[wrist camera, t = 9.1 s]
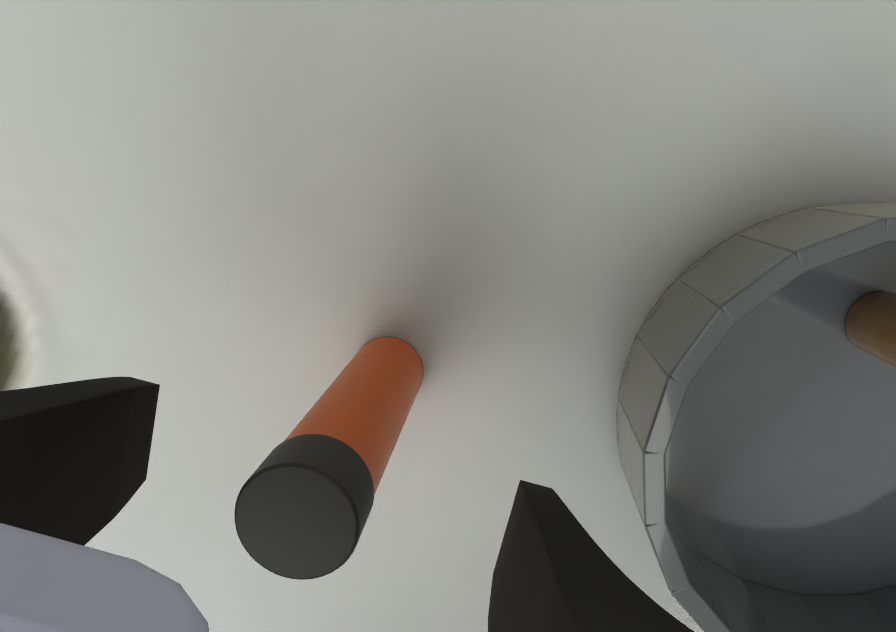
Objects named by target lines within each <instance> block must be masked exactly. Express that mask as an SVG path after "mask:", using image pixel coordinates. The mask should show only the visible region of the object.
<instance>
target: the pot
mask: <svg viewBox="0 0 896 632" xmlns="http://www.w3.org/2000/svg"><path fill="white" fill-rule="evenodd" d="M881 291H884V292H891V293H894V294H896V203H887V202H879V203H865V204H856V203H850V204H838V205H826V206H818V207H811V208H807V209H804V210H799V211H794V212H790V213H787V214H784V215H781V216H778V217H775V218H772V219H769V220H766V221H763V222H761V223H759V224H757V225H754V226H752V227H750V228H748V229H746V230H744V231H742V232H740V233H738V234H736V235H734V236H732V237H730V238H729V239H727V240H726V241H724V242H723V243H721V244H719V245H718V246H716V247H715V248H713V249H712V250H710V251H708V252H707V253H706V254H705V255H704V256H702V257H701V258H700V259H699V260H697V261H696V262H695V263H694V264H693V265H691V266H690V267H689V268H688V269H687V270H685V271H684V272H683V273H682V274H681V276H680V277H679V278H678V279H677V280H676V281H675V282H674V283H673V284H672V285H671V286H670V287H669V288H668V289H667V290H666V291H665V293H664V294H663V295H662V297H661V298H660V299H659V301H658V302H657V303H656V305H655V306H654V308H653V309H652V310H651V312H650V313H649V314H648V316H647V318H646V320H645V322H644V323H643V325H642V327H641V329H640V331H639V332H638V334H637V336H636V338H635V340H634V343H633V345H632V348H631V350H630V353H629V356H628V358H627V361H626V363H625V367H624V371H623V375H622V380H621V384H620V388H619V397H618V407H617V431H618V443H619V448H620V460H621V464H622V467H623V470H624V473H625V475H626V478H627V481H628V483H629V486H630V489H631V492H632V494H633V497H634V500H635V502H636V505H637V508H638V510H639V513H640V516H641V519H642V521H643V524H644V527H645V529H646V532H647V534H648V537H649V540H650V542H651V545H652V547H653V550H654V552H655V555H656V558H657V560H658V563H659V565H660V568H661V570H662V573H663V576H664V578H665V581H666V583H667V586H668V588H669V590H670V591H671V594H672V595H673V596H674V597H675V599H676V600H677V601H678V602H679V603H680V604H681V606H682V607H683V608H684V609H685V610H686V611H687V613H688V614H689V615H690V616H691V617H692V618H693V619H694V621H695V622H696V623H697V624H698V625H699V626H700V628H701V629H702V630H703V631H704V632H896V367H894V366H892V365H890V364H888V363H886V362H884V361H882V360H880V359H879V358H877V357H875V356H873V355H871V354H869V353H867V352H865V351H863V350H861V349H859V348H858V347H856V346H855V345H854V344H853V343H852V342H851V341H850V339H849V338H848V335H847V333H846V327H845V321H846V317H847V314H848V312H849V310H850V308H851V307H852V305H853V304H854V303H855V302H856V301H857V300H859V299H860V298H862V297H863V296H865V295H868V294H870V293H874V292H881Z"/></svg>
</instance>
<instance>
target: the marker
mask: <svg viewBox="0 0 896 632" xmlns="http://www.w3.org/2000/svg"><path fill="white" fill-rule="evenodd" d="M422 378H423V366H422V362H421V359H420V357H419V355H418V354H417V352H416V351H415V350H414V349H413V347H412V346H410V345H409V344H408V343H406V342H405V341H403V340H400V339H397V338H393V337H380V338H376V339H373V340H371V341H369V342H368V343H366V344H365V345H364V346H363V347H362V348H361V349H360V351H359V352H358V353H357V354H356V355H355V357H354V358H353V359H352V360H351V361H350V363H349V364H348V365H347V366H346V367H345V369H344V370H343V371H342V372H341V373H340V375H339V376H338V377H337V378H336V379H335V381H334V382H333V383H332V384H331V385H330V387H329V388H328V389H327V390H326V391H325V393H324V394H323V395H322V396H321V397H320V399H319V400H318V401H317V402H316V403H315V405H314V406H313V407H312V408H311V409H310V411H309V412H308V413H307V414H306V415H305V417H304V418H303V419H302V420H301V422H300V423H299V424H298V425H297V426H296V428H295V429H294V430H293V431H292V432H291V434H290V435H289V436H288V437H287V438H286V440H285V441H284V442H282V443H281V444H279V445H278V446H277V447H276V448H275V449H274V450H273V451H272V452H271V453H270V454H269V456H268V457H267V458H266V459H265V460H264V461H263V463H262V464H261V465H260V466H259V467H258V469H257V470H256V471H255V472H254V473H253V475H252V476H251V477H250V478H249V479H248V480H247V482H246V483H245V484H244V486H243V487H242V489H241V490H240V493H239V495H238V497H237V501H236V505H235V525H236V530H237V533H238V536H239V539H240V541H241V543H242V545H243V546H244V548H245V549H246V551H247V552H248V553H249V555H250V556H251V557H252V558H253V559H254V560H255V561H256V562H257V563H259V564H260V565H261V566H262V567H264V568H266V569H267V570H269V571H271V572H273V573H275V574H277V575H280V576H283V577H287V578H292V579H313V578H318V577H321V576H324V575H327V574H329V573H331V572H333V571H335V570H336V569H338V568H339V567H340V566H342V565H343V564H344V563H345V562H346V561H347V560H348V559H349V557H350V556H351V554H352V553H353V551H354V549H355V547H356V545H357V543H358V540H359V538H360V535H361V533H362V530H363V528H364V526H365V523H366V521H367V518H368V516H369V513H370V511H371V508H372V505H373V500H374V494H375V492H376V489H377V487H378V485H379V482H380V480H381V478H382V475H383V473H384V470H385V468H386V466H387V463H388V461H389V459H390V456H391V454H392V451H393V449H394V447H395V444H396V442H397V439H398V437H399V435H400V432H401V430H402V428H403V425H404V423H405V420H406V418H407V416H408V413H409V411H410V409H411V406H412V404H413V401H414V399H415V397H416V394H417V392H418V389H419V387H420V385H421V382H422Z"/></svg>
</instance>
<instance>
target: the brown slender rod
mask: <svg viewBox="0 0 896 632" xmlns="http://www.w3.org/2000/svg"><path fill="white" fill-rule="evenodd" d="M845 327H846V333H847V335H848V338H849V339H850V341H851V342H852V343H853V344H854V345H855V346H856V347H858V348H859V349H861V350H863V351H865V352H867V353H869V354H871V355H873V356H875V357H877V358H879V359H880V360H882V361H884V362H886V363H888V364H890V365H892V366H894V367H896V294H894V293H891V292H884V291H881V292H874V293H870V294H868V295H865V296H863V297H862V298H860V299H859V300H857V301H856V302H855V303H854V304H853V305H852V307H851V308H850V310H849V312H848V314H847V317H846V321H845Z"/></svg>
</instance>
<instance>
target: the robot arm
mask: <svg viewBox="0 0 896 632" xmlns="http://www.w3.org/2000/svg"><path fill="white" fill-rule="evenodd" d="M159 387H160V385H158V384H154V383H151V382H147V381H143V380H139V379H135V378H132V377H109V378H99V379H90V380H83V381H75V382H68V383H61V384H54V385H47V386H40V387H33V388H25V389H17V390H8V391H0V632H209V627H208V622H207V621H206V619H205V618H204V617H203V615H202V614H201V612H200V611H199V610H198V608H197V607H196V606H195V604H194V603H193V601H192V600H191V599H190V597H189V596H188V595H187V593H186V592H185V590H184V589H183V588H182V586H181V585H180V584H179V583H177V582H175V581H174V580H172V579H170V578H168V577H166V576H164V575H162V574H161V573H159V572H157V571H155V570H153V569H151V568H149V567H148V566H146V565H144V564H142V563H140V562H138V561H136V560H133V559H130V558H126V557H122V556H119V555H115V554H111V553H108V552H104V551H101V550H97V549H93V548H90V547H86V546H84V545H85V544H86V543H87V542H88V541H90V540H91V539H92V538H93V537H94V536H95V535H96V534H97V533H98V532H99V531H100V530H102V529H103V528H104V527H105V526H106V525H107V524H108V523H109V522H110V521H111V520H112V519H113V518H114V517H115V516H116V515H117V514H118V513H119V512H120V510H121V509H122V508H123V507H124V506H125V505H126V503H127V502H128V501H129V500H130V499H131V497H132V496H133V495H134V494H135V492H136V491H137V490H138V489H139V487H140V486H141V485H142V484H143V482H144V481H145V480H146V475H147V469H148V462H149V455H150V448H151V441H152V434H153V428H154V421H155V414H156V407H157V400H158V393H159ZM488 632H694V631H692V630H691V629H689V628H688V627H687V626H685V625H684V624H683V623H681V622H680V621H678V620H677V619H676V618H674V617H673V616H672V615H670V614H669V613H668V612H667V611H665V610H664V609H663V608H662V607H660V606H659V605H658V604H657V603H656V602H655V601H653V600H652V599H651V598H650V597H649V596H648V595H647V594H645V593H644V592H643V591H642V590H641V589H640V588H639V587H637V586H636V585H635V584H634V583H633V582H632V581H631V580H630V579H629V578H628V577H627V576H626V575H625V574H624V573H623V572H622V571H621V570H620V569H619V568H618V567H617V566H616V565H615V564H614V563H613V562H612V561H611V559H610V558H609V557H608V556H607V555H606V554H605V553H604V552H603V551H602V550H601V548H600V547H599V546H598V545H597V544H596V543H595V542H594V540H593V539H592V538H591V537H590V536H589V534H588V533H587V532H586V531H585V529H584V528H583V527H582V526H581V524H580V523H579V522H578V521H577V519H576V518H575V517H574V515H573V514H572V513H571V512H570V510H569V509H568V508H567V506H566V505H565V504H564V502H563V501H562V500H561V499H560V497H559V496H558V495H557V494H556V493H555V491H554V490H553V489H552V488H548V487H544V486H541V485H537V484H533V483H529V482H526V481H522V480H520V482H519V486H518V489H517V493H516V496H515V500H514V503H513V507H512V510H511V514H510V517H509V521H508V524H507V528H506V531H505V534H504V538H503V541H502V545H501V548H500V552H499V555H498V559H497V562H496V566H495V569H494V573H493V580H492V588H491V597H490V606H489V615H488Z"/></svg>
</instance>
